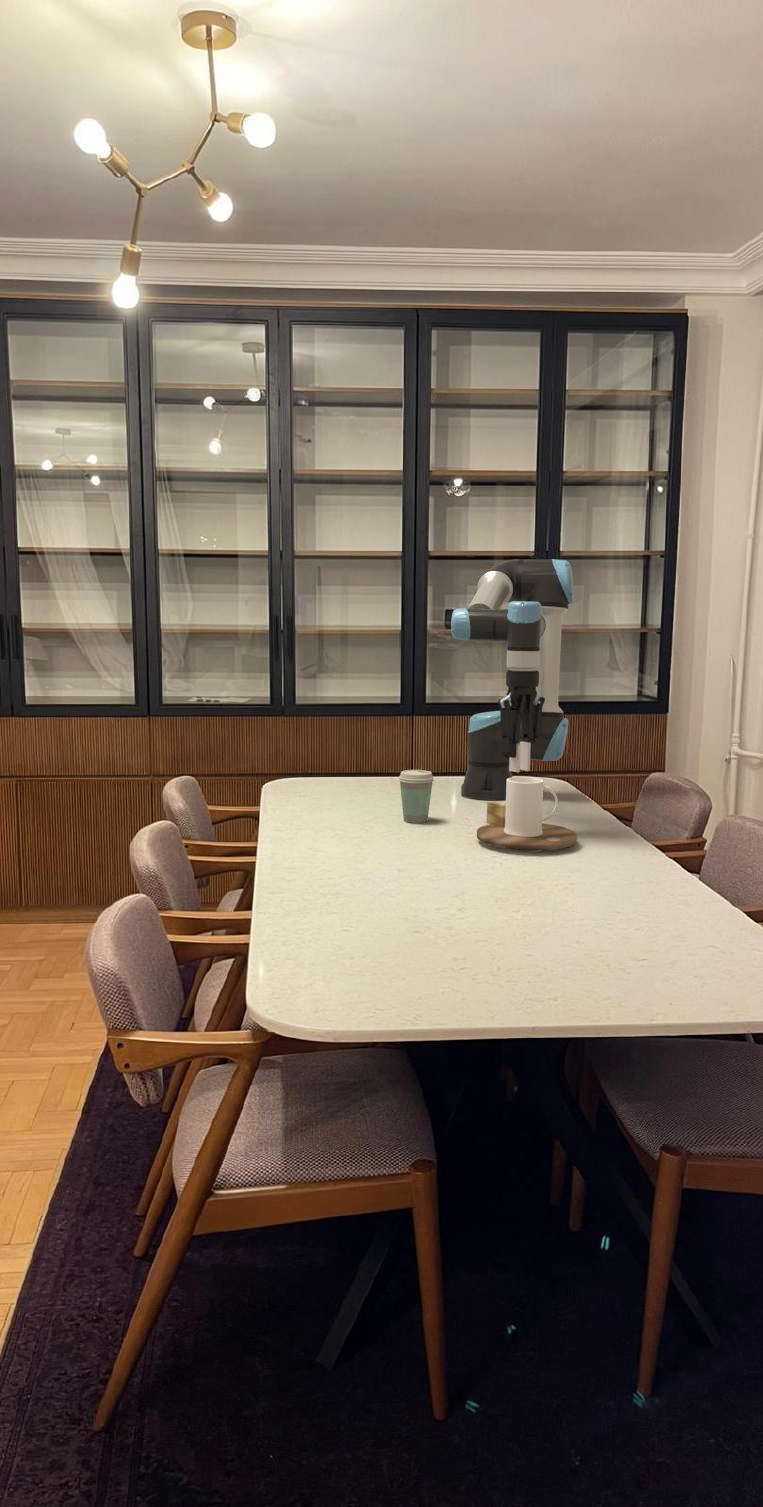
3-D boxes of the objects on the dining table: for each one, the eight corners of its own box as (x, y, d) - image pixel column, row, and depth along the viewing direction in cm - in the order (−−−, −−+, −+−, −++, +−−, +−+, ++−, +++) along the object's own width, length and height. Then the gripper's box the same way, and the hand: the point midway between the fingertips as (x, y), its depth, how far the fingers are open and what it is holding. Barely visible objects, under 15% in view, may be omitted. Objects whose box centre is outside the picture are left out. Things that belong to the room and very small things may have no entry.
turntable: (597, 840, 230) (598, 812, 229) (527, 855, 216) (528, 825, 215) (521, 822, 247) (522, 796, 246) (453, 834, 234) (454, 807, 233)
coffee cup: (433, 824, 250) (434, 775, 248) (398, 824, 250) (398, 774, 248) (432, 817, 258) (433, 769, 256) (398, 816, 258) (398, 769, 256)
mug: (553, 829, 235) (555, 776, 233) (560, 837, 226) (562, 783, 224) (501, 828, 235) (503, 776, 233) (506, 837, 226) (507, 783, 224)
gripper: (534, 667, 245) (531, 765, 249) (486, 669, 236) (483, 771, 239) (558, 669, 239) (554, 769, 243) (510, 671, 230) (507, 776, 233)
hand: (519, 770), depth 241 cm, fingers open, 3 cm apart
